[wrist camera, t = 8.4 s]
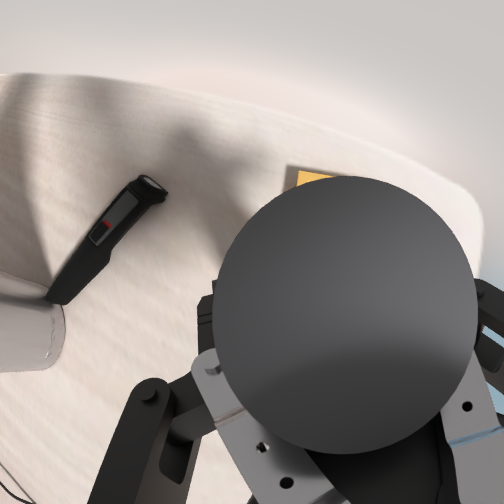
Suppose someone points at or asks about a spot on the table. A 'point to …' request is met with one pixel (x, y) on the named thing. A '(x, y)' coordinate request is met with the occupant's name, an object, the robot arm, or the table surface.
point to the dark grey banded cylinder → (344, 315)
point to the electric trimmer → (105, 238)
